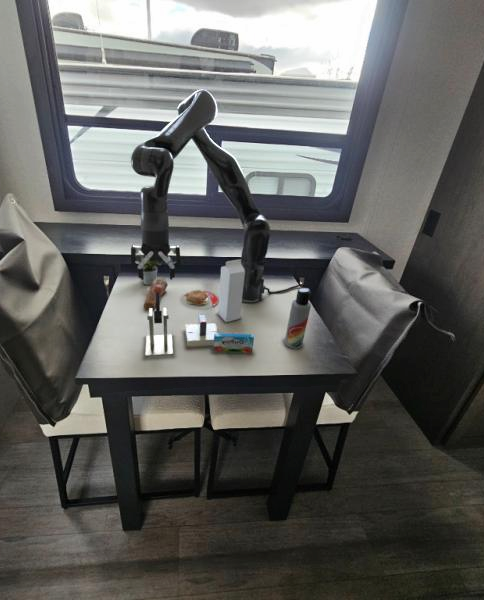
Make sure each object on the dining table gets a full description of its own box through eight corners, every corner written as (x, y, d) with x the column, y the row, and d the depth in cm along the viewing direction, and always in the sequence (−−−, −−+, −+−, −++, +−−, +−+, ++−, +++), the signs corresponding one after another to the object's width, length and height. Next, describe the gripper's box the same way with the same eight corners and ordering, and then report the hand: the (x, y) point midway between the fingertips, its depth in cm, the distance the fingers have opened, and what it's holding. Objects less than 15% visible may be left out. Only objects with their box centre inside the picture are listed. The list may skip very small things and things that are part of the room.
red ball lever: (152, 289, 99) (152, 283, 97) (162, 289, 100) (162, 282, 97) (152, 324, 92) (152, 318, 89) (163, 323, 92) (163, 317, 90)
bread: (168, 289, 131) (167, 277, 128) (155, 313, 114) (154, 299, 111) (153, 288, 131) (152, 275, 128) (138, 311, 114) (137, 298, 111)
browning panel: (214, 330, 107) (215, 322, 105) (219, 346, 99) (219, 338, 98) (185, 332, 105) (185, 324, 103) (187, 348, 97) (187, 340, 96)
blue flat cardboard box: (213, 352, 96) (214, 336, 93) (213, 349, 98) (214, 333, 95) (251, 353, 97) (254, 337, 94) (251, 350, 98) (253, 334, 96)
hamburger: (218, 309, 119) (219, 295, 116) (181, 308, 118) (181, 294, 115) (217, 292, 131) (217, 279, 129) (183, 291, 130) (183, 278, 127)
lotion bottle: (298, 351, 100) (311, 295, 90) (281, 344, 102) (292, 289, 93) (304, 342, 104) (316, 288, 94) (288, 336, 107) (298, 283, 97)
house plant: (125, 278, 137) (121, 242, 129) (154, 272, 145) (153, 237, 137) (138, 291, 127) (135, 253, 120) (169, 284, 135) (168, 247, 127)
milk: (240, 319, 114) (246, 262, 104) (225, 322, 112) (230, 265, 101) (231, 310, 119) (236, 256, 108) (217, 314, 116) (221, 258, 105)
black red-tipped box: (198, 327, 102) (198, 314, 100) (204, 327, 103) (204, 314, 100) (199, 335, 98) (200, 322, 96) (206, 335, 99) (206, 322, 96)
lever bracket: (146, 338, 100) (144, 303, 94) (171, 337, 102) (171, 302, 96) (145, 358, 92) (142, 321, 86) (173, 357, 93) (172, 320, 87)
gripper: (179, 223, 92) (179, 273, 100) (129, 221, 90) (133, 273, 98) (181, 230, 86) (181, 284, 94) (127, 229, 83) (131, 284, 91)
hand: (156, 278), depth 96 cm, fingers open, 8 cm apart
